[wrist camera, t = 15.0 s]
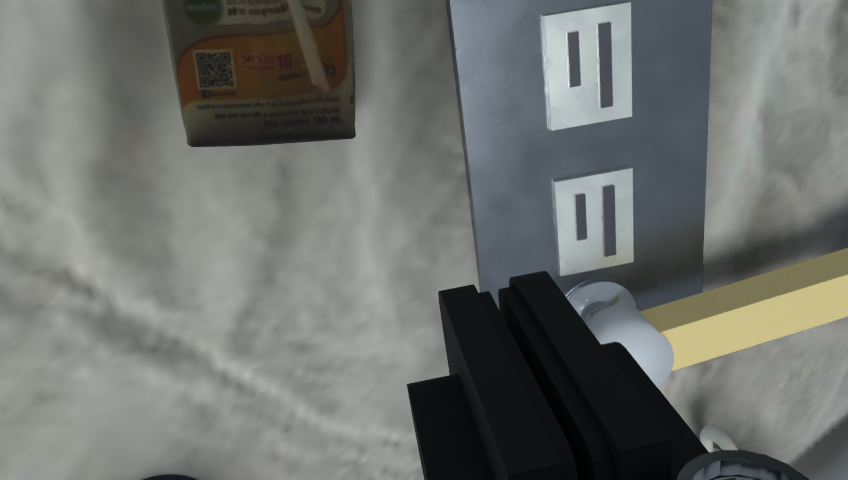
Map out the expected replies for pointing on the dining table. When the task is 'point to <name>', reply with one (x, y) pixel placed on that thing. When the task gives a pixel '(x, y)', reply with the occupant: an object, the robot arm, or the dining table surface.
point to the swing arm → (728, 316)
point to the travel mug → (169, 478)
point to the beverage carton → (263, 70)
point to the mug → (716, 439)
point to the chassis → (586, 144)
